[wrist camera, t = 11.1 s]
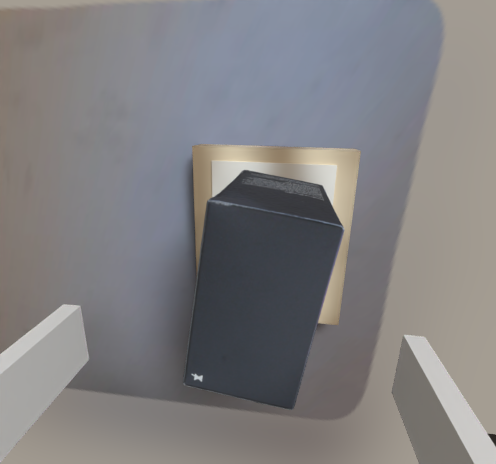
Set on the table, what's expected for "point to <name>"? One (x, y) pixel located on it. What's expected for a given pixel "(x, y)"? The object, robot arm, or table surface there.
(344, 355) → the table surface
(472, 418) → the robot arm
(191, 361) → the small box
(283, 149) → the beech picture frame
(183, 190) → the table surface
